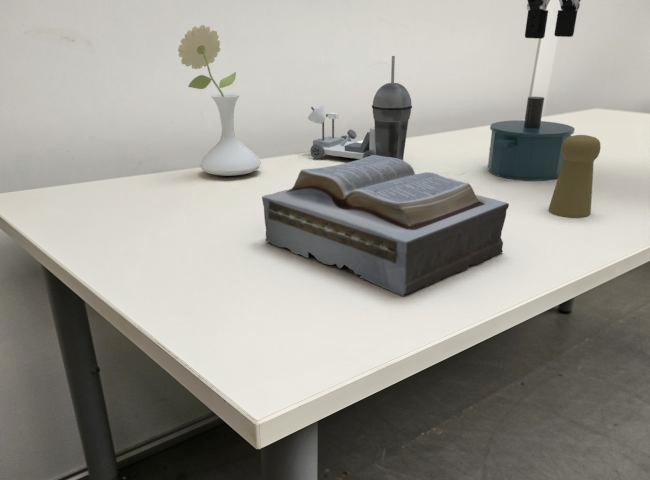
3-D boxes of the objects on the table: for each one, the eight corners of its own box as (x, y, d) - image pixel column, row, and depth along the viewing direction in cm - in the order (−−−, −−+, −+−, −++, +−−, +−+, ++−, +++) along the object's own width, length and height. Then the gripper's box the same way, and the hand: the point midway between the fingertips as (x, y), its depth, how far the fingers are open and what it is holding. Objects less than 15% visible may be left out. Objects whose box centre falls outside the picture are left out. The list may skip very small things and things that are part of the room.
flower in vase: (254, 164, 121) (246, 23, 109) (267, 177, 111) (260, 24, 100) (188, 169, 117) (172, 24, 106) (195, 183, 108) (179, 25, 96)
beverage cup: (410, 167, 117) (416, 54, 108) (406, 176, 111) (413, 57, 102) (372, 166, 119) (376, 54, 110) (367, 174, 112) (370, 56, 103)
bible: (388, 207, 94) (391, 141, 89) (526, 261, 73) (539, 179, 69) (251, 235, 83) (247, 161, 78) (370, 307, 62) (373, 213, 58)
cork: (587, 206, 94) (602, 132, 89) (593, 218, 88) (609, 140, 83) (546, 204, 95) (558, 131, 90) (550, 215, 90) (562, 139, 85)
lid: (588, 133, 111) (595, 97, 108) (547, 144, 102) (553, 105, 99) (516, 124, 120) (521, 90, 117) (473, 133, 111) (477, 97, 108)
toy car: (298, 107, 122) (329, 100, 131) (299, 156, 127) (330, 147, 135) (377, 114, 113) (405, 106, 122) (375, 167, 118) (402, 156, 126)
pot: (584, 169, 116) (591, 128, 112) (531, 187, 104) (538, 142, 101) (520, 158, 124) (525, 120, 121) (465, 173, 113) (469, 132, 109)
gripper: (564, -95, 86) (544, 39, 94) (616, -84, 96) (594, 36, 104) (516, -90, 91) (501, 38, 98) (571, -79, 101) (553, 35, 109)
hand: (549, 37), depth 101 cm, fingers open, 9 cm apart
